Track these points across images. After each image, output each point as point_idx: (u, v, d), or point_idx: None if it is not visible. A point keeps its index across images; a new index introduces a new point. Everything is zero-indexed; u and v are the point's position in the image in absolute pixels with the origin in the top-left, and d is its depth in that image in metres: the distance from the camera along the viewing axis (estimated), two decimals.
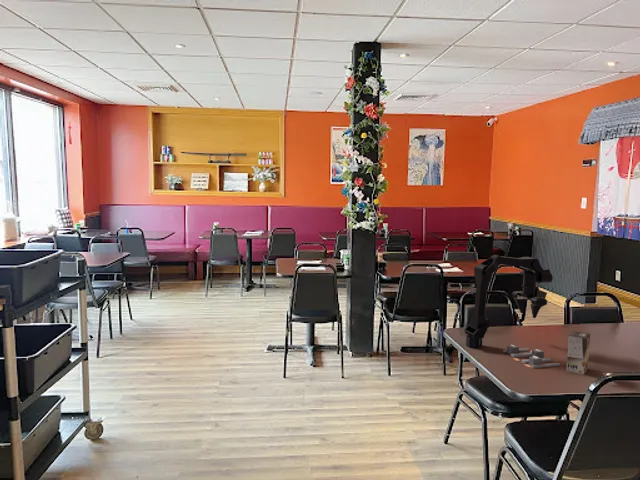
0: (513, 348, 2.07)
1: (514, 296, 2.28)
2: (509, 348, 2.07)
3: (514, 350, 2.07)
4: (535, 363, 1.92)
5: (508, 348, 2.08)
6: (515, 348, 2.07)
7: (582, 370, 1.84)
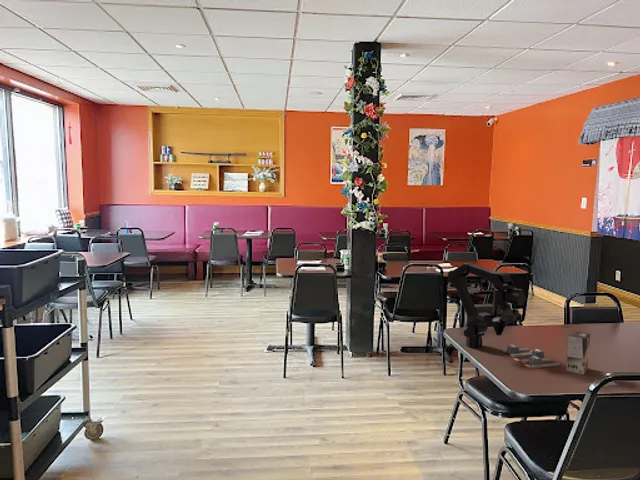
0: (513, 348, 2.07)
1: None
2: (509, 348, 2.07)
3: (514, 350, 2.07)
4: (535, 363, 1.92)
5: (508, 348, 2.08)
6: (515, 348, 2.07)
7: (582, 370, 1.84)
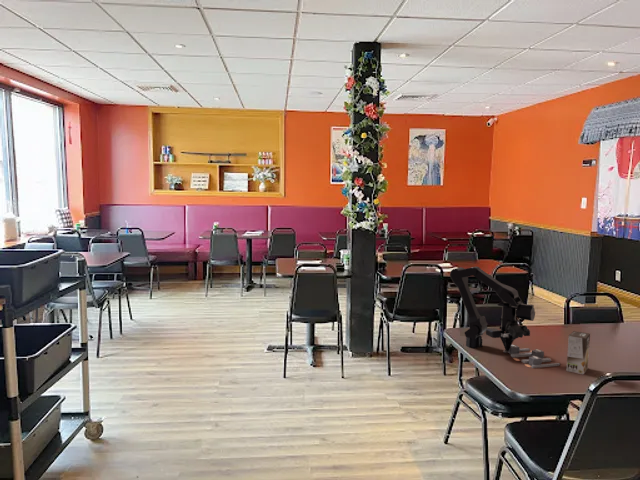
0: (514, 348, 2.07)
1: None
2: (510, 348, 2.07)
3: (515, 350, 2.07)
4: (535, 363, 1.92)
5: None
6: (516, 348, 2.07)
7: (582, 370, 1.84)
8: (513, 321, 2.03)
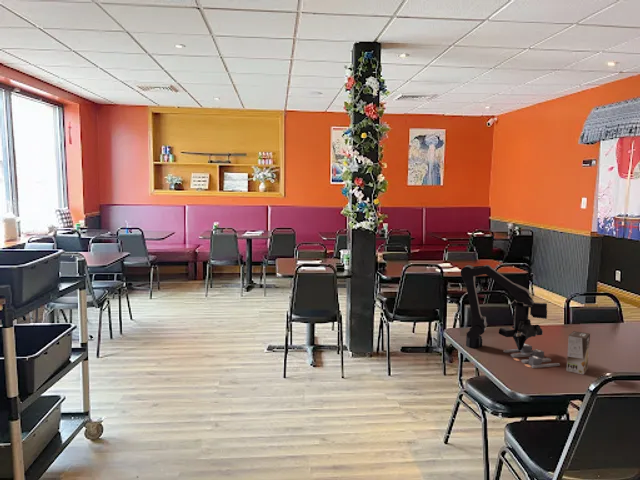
0: (526, 347, 2.08)
1: None
2: (522, 347, 2.09)
3: (527, 349, 2.08)
4: (535, 363, 1.92)
5: None
6: (528, 347, 2.08)
7: (582, 370, 1.84)
8: (526, 320, 2.05)
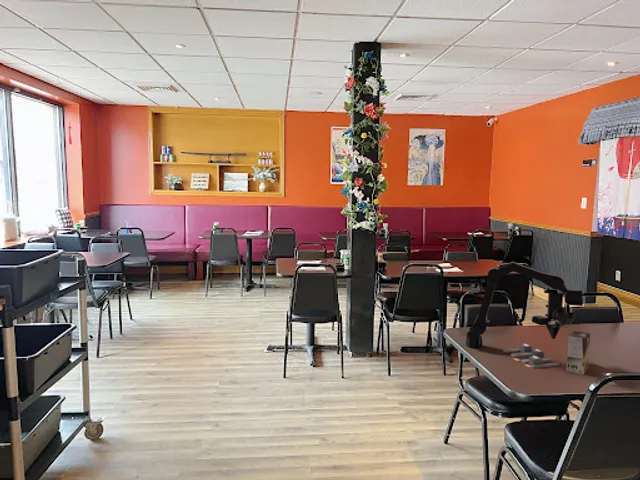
0: (526, 347, 2.08)
1: None
2: (522, 347, 2.09)
3: (527, 349, 2.08)
4: (535, 363, 1.92)
5: (521, 347, 2.10)
6: (528, 347, 2.08)
7: (582, 370, 1.84)
8: (560, 308, 1.99)
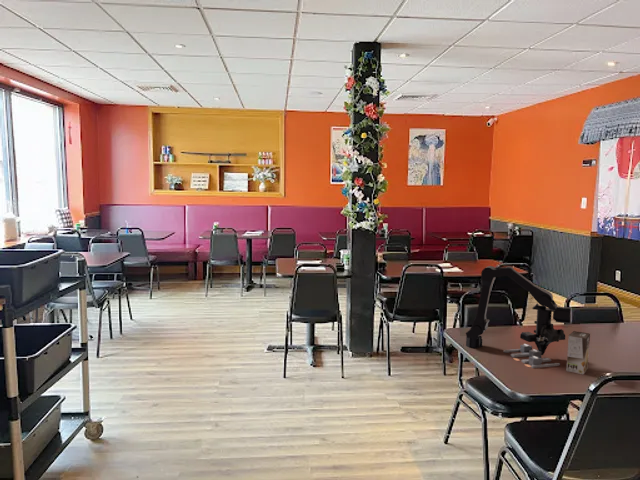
0: (526, 347, 2.08)
1: None
2: (522, 347, 2.09)
3: (527, 349, 2.08)
4: (535, 363, 1.92)
5: (521, 347, 2.10)
6: (528, 347, 2.08)
7: (582, 370, 1.84)
8: (549, 325, 1.99)
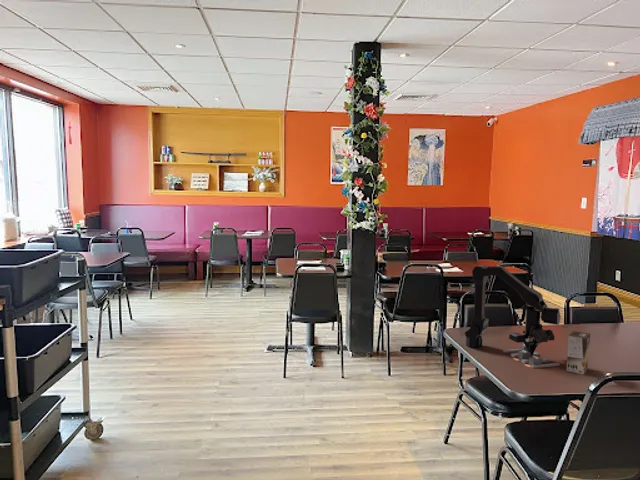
0: None
1: None
2: (522, 347, 2.09)
3: None
4: (535, 363, 1.92)
5: (521, 347, 2.10)
6: None
7: (582, 370, 1.84)
8: (538, 325, 1.98)
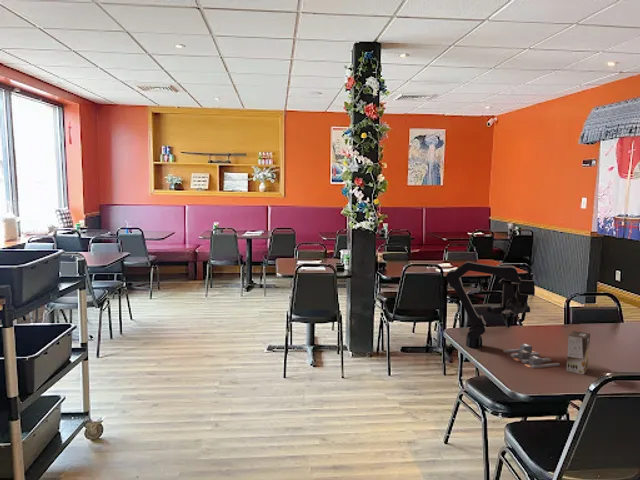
0: (526, 347, 2.08)
1: None
2: (522, 347, 2.09)
3: (527, 349, 2.08)
4: (535, 363, 1.92)
5: (521, 347, 2.10)
6: (528, 347, 2.08)
7: (582, 370, 1.84)
8: (514, 298, 2.08)
